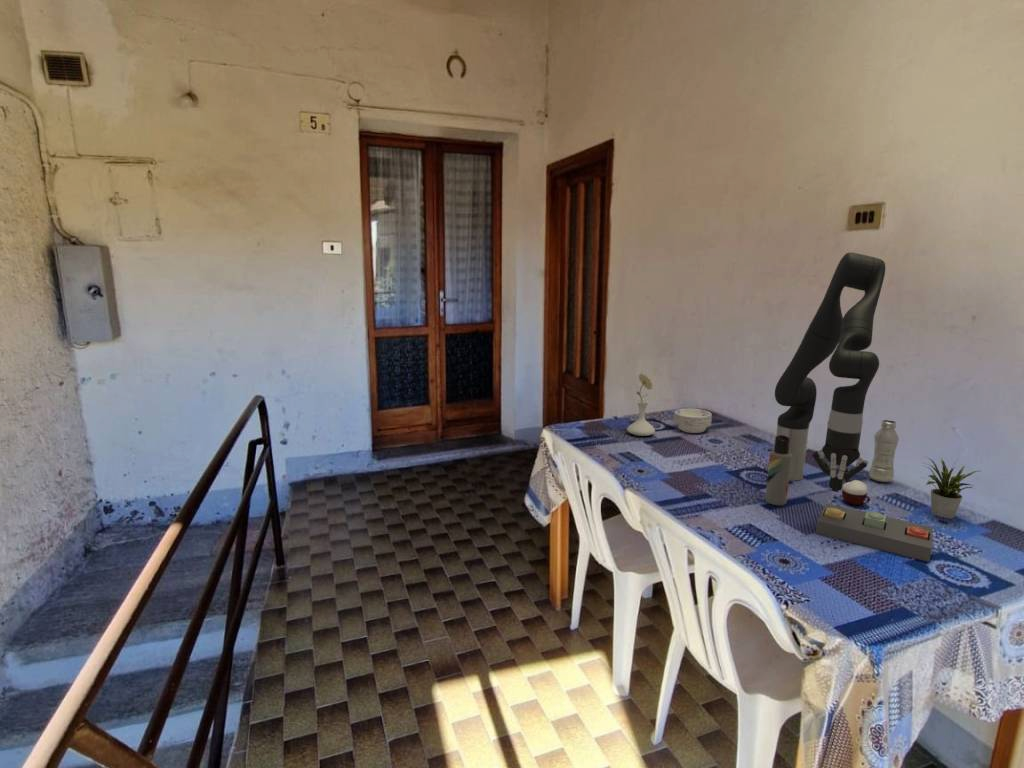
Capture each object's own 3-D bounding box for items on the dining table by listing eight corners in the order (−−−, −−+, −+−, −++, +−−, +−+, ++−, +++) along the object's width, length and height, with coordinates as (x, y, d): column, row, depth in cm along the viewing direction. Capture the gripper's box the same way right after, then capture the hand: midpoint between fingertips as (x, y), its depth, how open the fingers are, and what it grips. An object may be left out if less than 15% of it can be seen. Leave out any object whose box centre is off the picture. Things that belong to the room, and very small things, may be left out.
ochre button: (823, 523, 150) (824, 511, 149) (825, 518, 153) (827, 505, 153) (841, 528, 148) (843, 515, 147) (843, 522, 151) (845, 509, 150)
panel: (815, 533, 147) (817, 520, 146) (824, 514, 158) (826, 503, 157) (929, 562, 133) (931, 548, 132) (930, 539, 144) (932, 527, 143)
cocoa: (871, 509, 163) (880, 470, 160) (850, 509, 162) (858, 470, 159) (851, 495, 172) (859, 458, 169) (831, 494, 172) (838, 457, 169)
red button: (905, 543, 140) (907, 530, 139) (906, 537, 143) (908, 524, 142) (925, 548, 137) (928, 535, 136) (926, 542, 140) (928, 528, 140)
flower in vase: (658, 438, 227) (661, 377, 222) (629, 438, 227) (632, 377, 222) (650, 429, 240) (654, 371, 235) (623, 428, 240) (626, 371, 235)
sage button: (863, 528, 145) (865, 515, 144) (865, 522, 148) (867, 509, 147) (882, 532, 142) (884, 519, 141) (884, 526, 145) (886, 513, 145)
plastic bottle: (896, 485, 180) (905, 424, 176) (872, 483, 181) (881, 423, 177) (887, 478, 186) (896, 419, 182) (864, 476, 187) (873, 418, 183)
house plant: (895, 506, 164) (903, 453, 160) (926, 499, 169) (935, 447, 165) (948, 527, 151) (958, 469, 147) (980, 519, 156) (991, 463, 152)
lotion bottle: (785, 499, 168) (792, 435, 164) (787, 507, 163) (795, 440, 159) (764, 497, 170) (771, 433, 166) (766, 504, 165) (773, 438, 161)
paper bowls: (667, 425, 245) (668, 408, 244) (701, 424, 247) (702, 407, 245) (681, 436, 231) (682, 417, 229) (717, 435, 232) (718, 416, 231)
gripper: (876, 429, 144) (866, 492, 148) (818, 419, 152) (810, 480, 156) (872, 436, 138) (862, 502, 142) (812, 426, 146) (804, 488, 150)
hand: (835, 490), depth 149 cm, fingers closed
